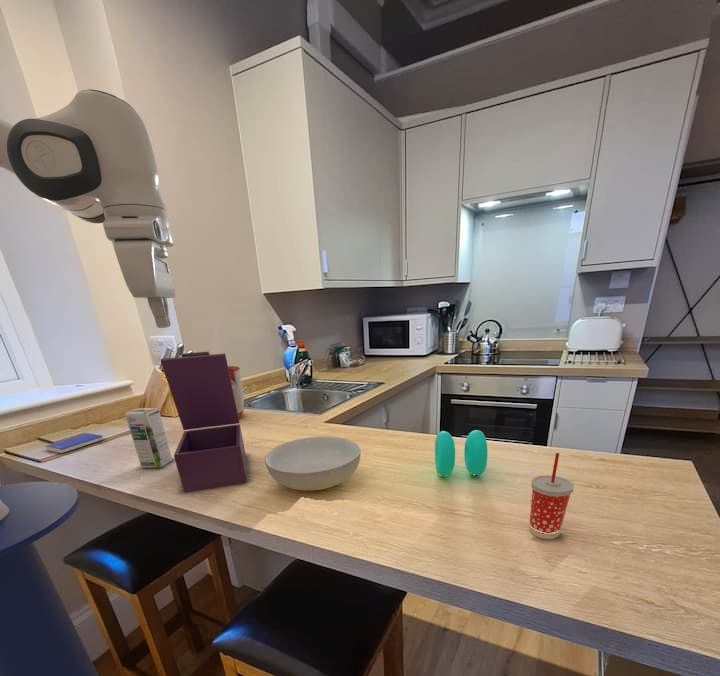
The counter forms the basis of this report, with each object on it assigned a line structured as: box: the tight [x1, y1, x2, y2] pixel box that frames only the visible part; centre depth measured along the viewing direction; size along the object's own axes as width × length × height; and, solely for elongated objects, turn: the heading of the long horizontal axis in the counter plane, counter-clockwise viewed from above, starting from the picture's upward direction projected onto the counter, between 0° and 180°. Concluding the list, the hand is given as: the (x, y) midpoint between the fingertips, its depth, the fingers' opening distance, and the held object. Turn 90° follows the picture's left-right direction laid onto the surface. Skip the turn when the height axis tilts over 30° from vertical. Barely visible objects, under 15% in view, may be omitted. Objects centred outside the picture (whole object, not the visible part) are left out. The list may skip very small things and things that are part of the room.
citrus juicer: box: [228, 365, 245, 419], centre depth 135 cm, size 16×17×20 cm
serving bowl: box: [264, 436, 362, 492], centre depth 87 cm, size 21×21×7 cm
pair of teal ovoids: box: [434, 429, 488, 478], centre depth 85 cm, size 10×10×10 cm
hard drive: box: [45, 432, 104, 454], centre depth 121 cm, size 2×8×12 cm
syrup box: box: [124, 407, 173, 469], centre depth 100 cm, size 6×6×14 cm
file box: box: [173, 423, 248, 493], centre depth 94 cm, size 18×14×9 cm
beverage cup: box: [528, 452, 575, 540], centre depth 62 cm, size 6×6×14 cm
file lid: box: [160, 351, 241, 431], centre depth 95 cm, size 19×14×6 cm
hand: (164, 327), depth 67 cm, fingers closed
